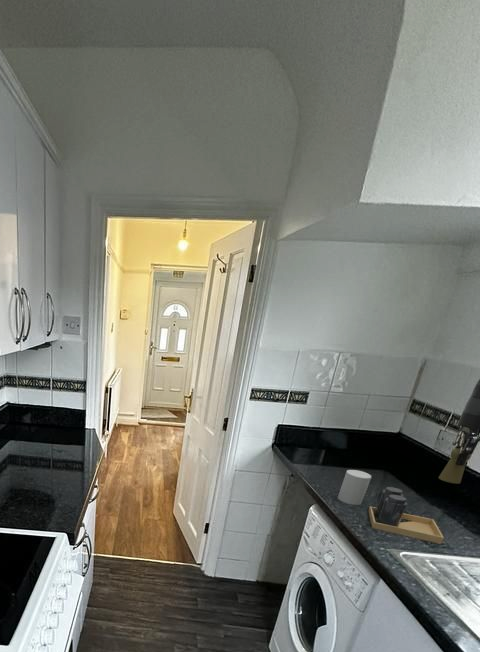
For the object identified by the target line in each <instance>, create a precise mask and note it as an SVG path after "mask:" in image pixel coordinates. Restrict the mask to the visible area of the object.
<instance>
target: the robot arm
mask: <svg viewBox="0 0 480 652" xmlns="http://www.w3.org/2000/svg"><path fill="white" fill-rule="evenodd" d="M461 412H462V413H461V415H460V418H459V420H458V422H457V425H458V426H460V427H463V428H459V429H458V432H457V435H456V438H455V440H454V443H453V446H454V448H453V450H454V449H456V448H461V449H460V452H459V455H458V457H457V460H456V462H455V464H456V465H460V466H463V465H464V464H465V461H466V459H467V457H468V455H471V456H472V455H473V454H474V451H475V449H476V448H477V446H478V444H479V442H480V437H479V431H480V378H479V379H478V380H476V382H475V384H474V386H473V388H472V390H471V393H470V395H469V398H468V399H467V401H466V403H465V405H464V408H463V410H462V411H461ZM466 462H467V461H466Z"/></svg>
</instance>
